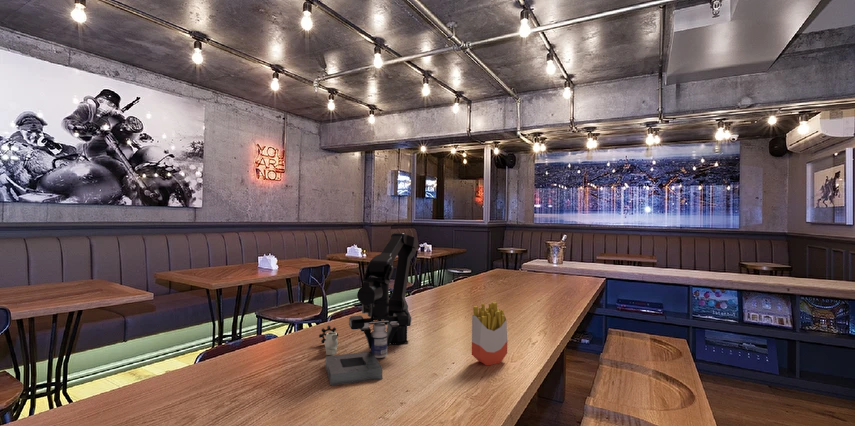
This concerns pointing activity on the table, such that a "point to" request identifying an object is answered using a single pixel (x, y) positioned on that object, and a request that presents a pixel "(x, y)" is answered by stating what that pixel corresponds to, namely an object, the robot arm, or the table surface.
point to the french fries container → (489, 334)
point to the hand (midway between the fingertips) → (378, 347)
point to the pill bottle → (379, 341)
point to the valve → (330, 340)
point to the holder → (352, 368)
